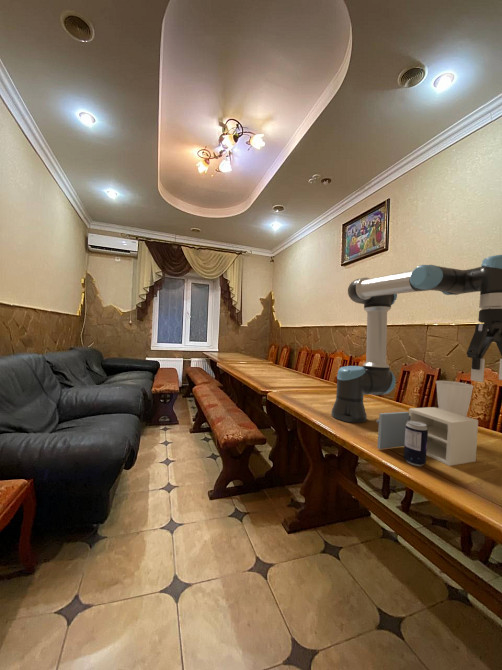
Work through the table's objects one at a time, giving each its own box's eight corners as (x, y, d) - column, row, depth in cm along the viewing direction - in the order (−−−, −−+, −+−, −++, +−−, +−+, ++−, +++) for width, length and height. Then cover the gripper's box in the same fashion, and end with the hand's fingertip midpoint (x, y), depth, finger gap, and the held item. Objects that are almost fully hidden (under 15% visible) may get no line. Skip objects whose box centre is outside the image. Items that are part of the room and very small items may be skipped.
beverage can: (429, 469, 74) (431, 427, 74) (407, 465, 75) (410, 425, 75) (420, 459, 80) (422, 421, 79) (400, 456, 81) (402, 419, 81)
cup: (475, 443, 95) (479, 385, 95) (462, 449, 89) (466, 387, 89) (440, 432, 105) (443, 379, 105) (426, 437, 99) (429, 381, 99)
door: (374, 446, 86) (376, 412, 86) (403, 442, 91) (405, 410, 91) (380, 449, 84) (382, 414, 84) (409, 445, 89) (411, 412, 88)
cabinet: (406, 445, 90) (409, 408, 90) (431, 442, 94) (433, 407, 94) (449, 465, 77) (451, 422, 76) (475, 461, 80) (478, 420, 80)
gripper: (485, 304, 68) (480, 384, 68) (537, 311, 77) (532, 382, 77) (454, 306, 75) (449, 378, 75) (505, 312, 84) (500, 377, 84)
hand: (491, 380), depth 76 cm, fingers open, 13 cm apart
